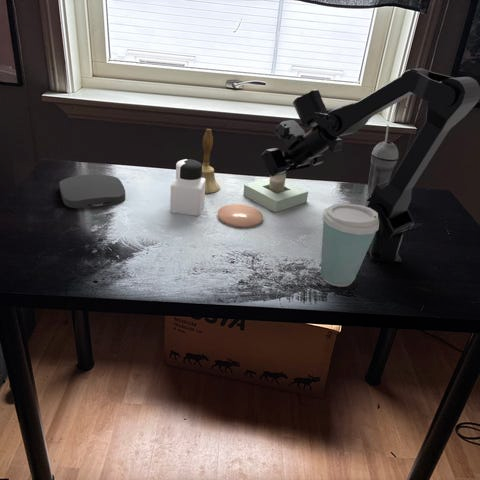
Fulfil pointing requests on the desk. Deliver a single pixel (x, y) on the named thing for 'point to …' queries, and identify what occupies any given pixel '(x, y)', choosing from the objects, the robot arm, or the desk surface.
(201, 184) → the medicine bottle
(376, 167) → the beverage cup
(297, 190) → the socket block
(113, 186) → the media streaming box
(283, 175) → the beige cylinder
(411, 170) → the robot arm
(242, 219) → the terracotta coaster
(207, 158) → the hand bell
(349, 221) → the disposable coffee cup
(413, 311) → the desk surface
